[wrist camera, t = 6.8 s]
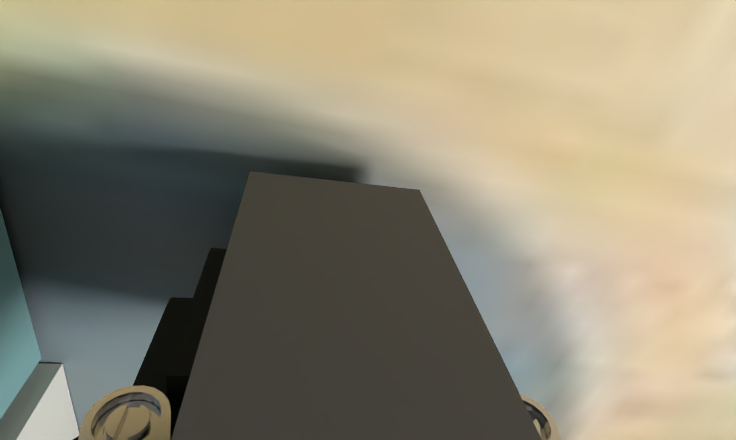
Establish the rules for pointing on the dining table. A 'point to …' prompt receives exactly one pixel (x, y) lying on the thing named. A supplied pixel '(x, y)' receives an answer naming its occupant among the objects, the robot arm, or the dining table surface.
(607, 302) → the dining table surface
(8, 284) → the door
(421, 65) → the dining table surface
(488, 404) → the gray rectangular block
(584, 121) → the dining table surface
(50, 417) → the white rectangular block
